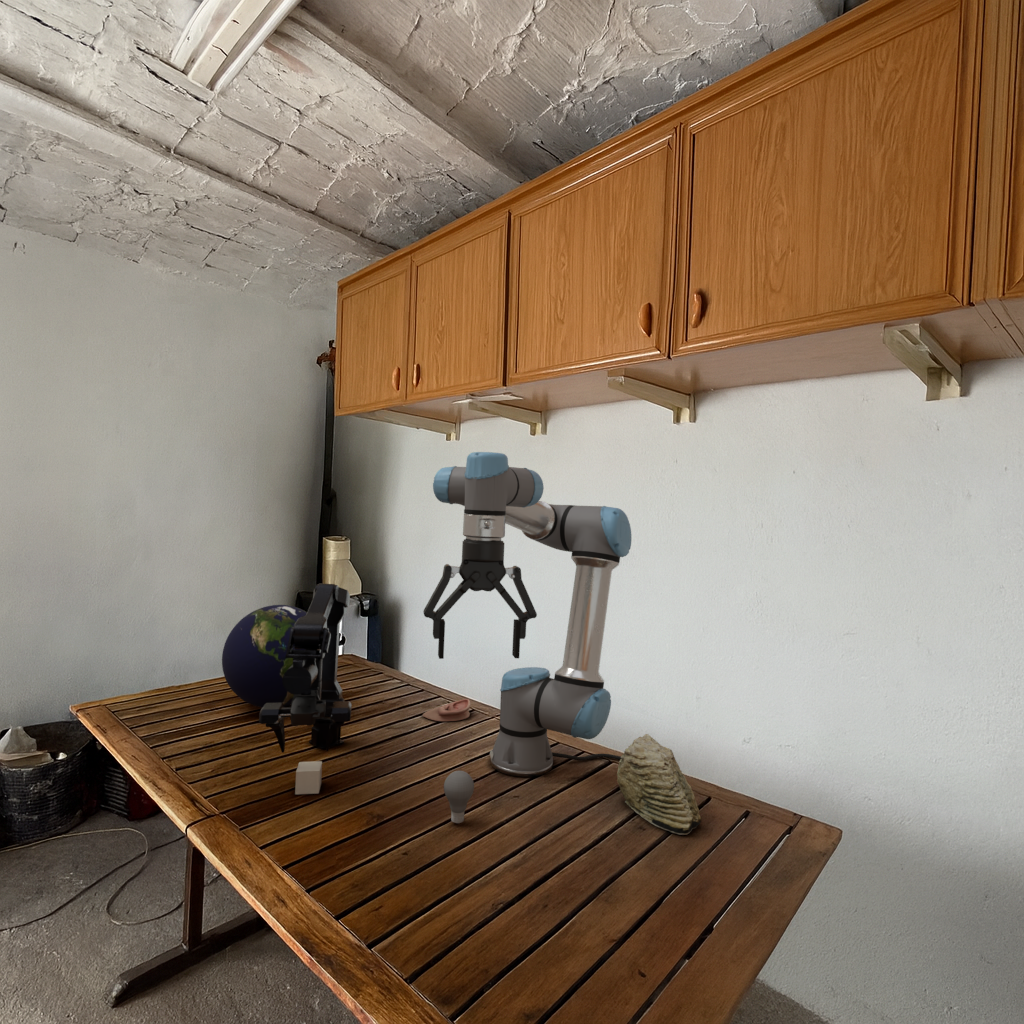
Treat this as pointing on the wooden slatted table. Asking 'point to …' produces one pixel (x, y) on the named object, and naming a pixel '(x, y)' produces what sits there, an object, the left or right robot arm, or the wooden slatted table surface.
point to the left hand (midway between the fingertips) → (305, 751)
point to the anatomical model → (450, 711)
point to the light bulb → (458, 793)
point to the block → (308, 777)
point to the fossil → (657, 786)
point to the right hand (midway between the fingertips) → (478, 656)
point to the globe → (260, 655)
